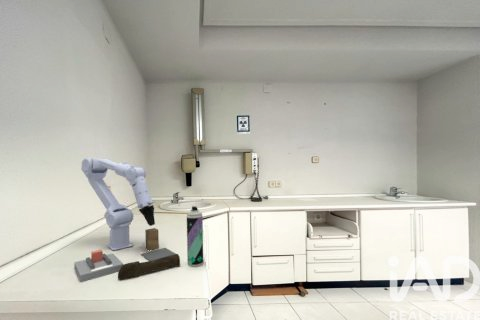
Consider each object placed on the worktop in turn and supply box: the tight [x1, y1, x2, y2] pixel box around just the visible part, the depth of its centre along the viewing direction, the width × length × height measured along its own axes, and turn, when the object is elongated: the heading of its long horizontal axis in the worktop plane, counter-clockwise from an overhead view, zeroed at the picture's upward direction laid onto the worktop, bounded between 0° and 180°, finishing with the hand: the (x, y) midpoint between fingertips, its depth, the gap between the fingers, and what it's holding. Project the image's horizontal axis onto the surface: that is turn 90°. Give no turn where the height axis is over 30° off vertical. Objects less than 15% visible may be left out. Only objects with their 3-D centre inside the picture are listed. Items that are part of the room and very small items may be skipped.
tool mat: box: [140, 247, 177, 261], centre depth 91 cm, size 10×10×1 cm
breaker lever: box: [90, 249, 104, 263], centre depth 81 cm, size 2×3×3 cm
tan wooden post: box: [144, 227, 160, 252], centre depth 99 cm, size 4×4×8 cm
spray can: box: [186, 205, 204, 268], centre depth 82 cm, size 6×6×20 cm
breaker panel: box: [73, 252, 124, 283], centre depth 79 cm, size 14×12×3 cm
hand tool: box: [117, 253, 181, 281], centre depth 76 cm, size 19×4×5 cm, turn 121°
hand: (152, 224), depth 96 cm, fingers open, 7 cm apart
